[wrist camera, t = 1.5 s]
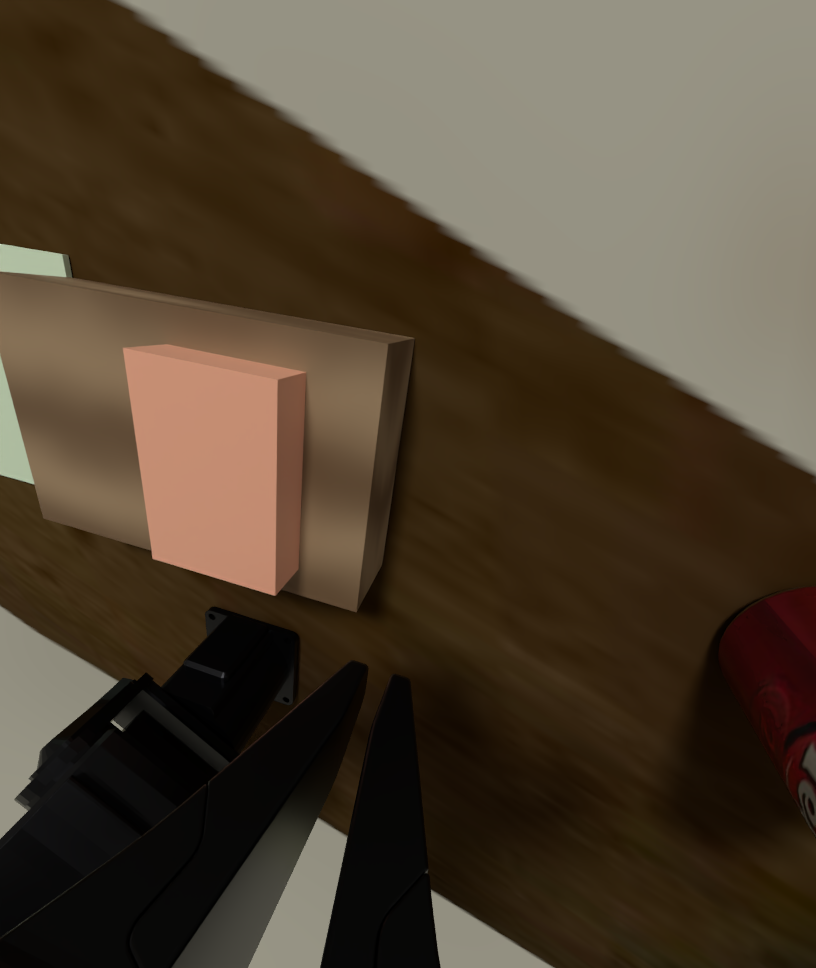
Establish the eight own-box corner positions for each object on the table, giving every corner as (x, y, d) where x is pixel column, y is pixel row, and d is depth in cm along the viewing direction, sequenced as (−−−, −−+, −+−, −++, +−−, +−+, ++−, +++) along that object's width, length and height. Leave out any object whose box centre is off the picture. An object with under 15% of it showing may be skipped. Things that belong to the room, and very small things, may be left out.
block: (298, 569, 19) (275, 595, 17) (185, 536, 20) (152, 558, 18) (306, 372, 15) (277, 379, 13) (167, 344, 16) (122, 347, 14)
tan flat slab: (382, 564, 22) (356, 612, 19) (110, 489, 25) (43, 518, 22) (414, 338, 17) (388, 344, 14) (72, 277, 20) (-23, 269, 17)
